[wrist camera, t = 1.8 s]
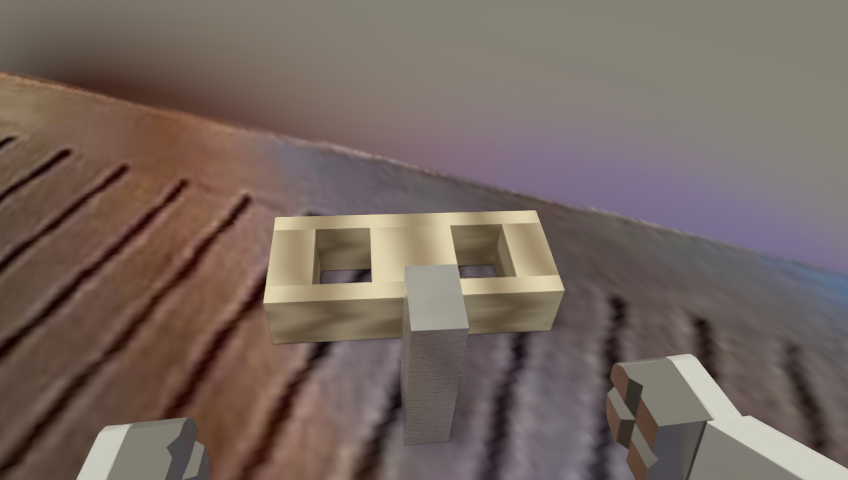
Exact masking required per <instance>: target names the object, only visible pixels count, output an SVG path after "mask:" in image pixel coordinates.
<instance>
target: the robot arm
mask: <svg viewBox="0 0 848 480" xmlns="http://www.w3.org/2000/svg"><path fill="white" fill-rule="evenodd" d="M610 378H611V380H612V382H613V384H614V386H615V387H614V388H613V389H612V390H611V391H610V392H609V393H608V394H607V401H606V411H607V419H608V423H609V426H610V429H611V431H612V433H613V435H614V437H615V440H616V442H618V443H619V444H621V445H622V446H624V447H625V448H627V449H628V450H629V451H628V456H627V463H628V465H629V467H630V469H631V471H632V473H633V475H634V477H635V479H636V480H848V469H847V468H845V467H843V466H841V465H839V464H837V463H836V462H834V461H832V460H830V459H828V458H826V457H825V456H823V455H821V454H819V453H817V452H815V451H814V450H812V449H810V448H808V447H806V446H804V445H803V444H801V443H799V442H797V441H795V440H793V439H792V438H790V437H788V436H786V435H784V434H782V433H781V432H779V431H777V430H775V429H773V428H771V427H770V426H768V425H766V424H764V423H762V422H760V421H759V420H757V419H755V418H753V417H751V416H743V417H742V415H741V414H740V413H739V412H738V410H737V409H736V408H735V407H734V405H733V404H732V403H731V402H730V400H729V399H728V398H727V397H726V395H725V394H724V393H723V391H722V390H721V389H720V388H719V386H718V385H717V384H716V383H715V381H714V380H713V379H712V378H711V376H710V375H709V374H708V373H707V371H706V370H705V369H704V368H703V366H702V365H701V364H700V362H699V361H698V360H697V359H696V358H695V357H694V356H692V355H691V354H684V355H676V356H669V357H664V358H662V357H660V358H653V359H645V360H638V361H631V362H623V363H616V364H615V365H614V367H613V368H612V371H611V377H610ZM197 433H198V428H197V426H196V424H195V421H194V419H193V418H179V419H169V420H159V421H149V422H139V423H133V424H123V425H114V426H106V427H105V428H104V429H103V430H102V431H101V432H100V433H99V434H98V436H97V438H96V440H95V442H94V444H93V446H92V448H91V450H90V452H89V454H88V456H87V458H86V461H85V463H84V465H83V467H82V469H81V471H80V473H79V475H78V477H77V479H76V480H209V474H210V464H209V458H208V454H207V451H206V448H205V446H204V445H202V444H200V443H199V442H197V441H196V437H197Z"/></svg>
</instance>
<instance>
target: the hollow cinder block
mask: <svg viewBox="0 0 848 480" xmlns="http://www.w3.org/2000/svg"><path fill="white" fill-rule="evenodd" d="M445 264H457V267H458V266H464V265H491V264H494V268H495V272H496V276H497V278H471V279H460V283H461V288H462V293H463V299H464V304H465V309H466V315H467V320H468V325H469V331H468V334H486V333H506V332H526V331H546V330H551V327H552V324H553V321H554V319H555V316H556V313H557V310H558V307H559V305H560V302H561V299H562V296H563V294H564V291H565V290H564V288H563V285H562V282H561V279H560V277H559V274H558V271H557V268H556V265H555V263H554V260H553V257H552V254H551V251H550V249H549V246H548V243H547V240H546V238H545V235H544V232H543V229H542V226H541V224H540V221H539V218H538V215H537V213H536V211H501V212H463V213H425V214H387V215H349V216H311V217H276V219H275V226H274V233H273V240H272V247H271V254H270V261H269V268H268V275H267V282H266V289H265V296H264V303H263V304H264V308H265V312H266V316H267V320H268V324H269V328H270V332H271V336H272V340H273V344H284V343H304V342H324V341H344V340H365V339H385V338H402V327H403V301H404V274H405V266H418V265H445ZM354 269H371V278H372V282H368V283H342V284H320V272H321V271H326V270H354ZM458 272H459V271H458ZM459 277H460V276H459Z"/></svg>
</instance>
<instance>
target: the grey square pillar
mask: <svg viewBox="0 0 848 480" xmlns="http://www.w3.org/2000/svg"><path fill="white" fill-rule="evenodd" d="M468 331H469V325H468V320H467V315H466V309H465V304H464V299H463V293H462V288H461V283H460V277H459V272H458V267H457V264H445V265H418V266H405V274H404V301H403V327H402V354H401V380H400V388H401V402H402V416H403V430H404V444H405V445H410V444H424V443H439V442H449V436H450V431H451V425H452V419H453V414H454V408H455V403H456V397H457V392H458V386H459V381H460V375H461V370H462V364H463V359H464V353H465V348H466V342H467V337H468Z"/></svg>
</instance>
